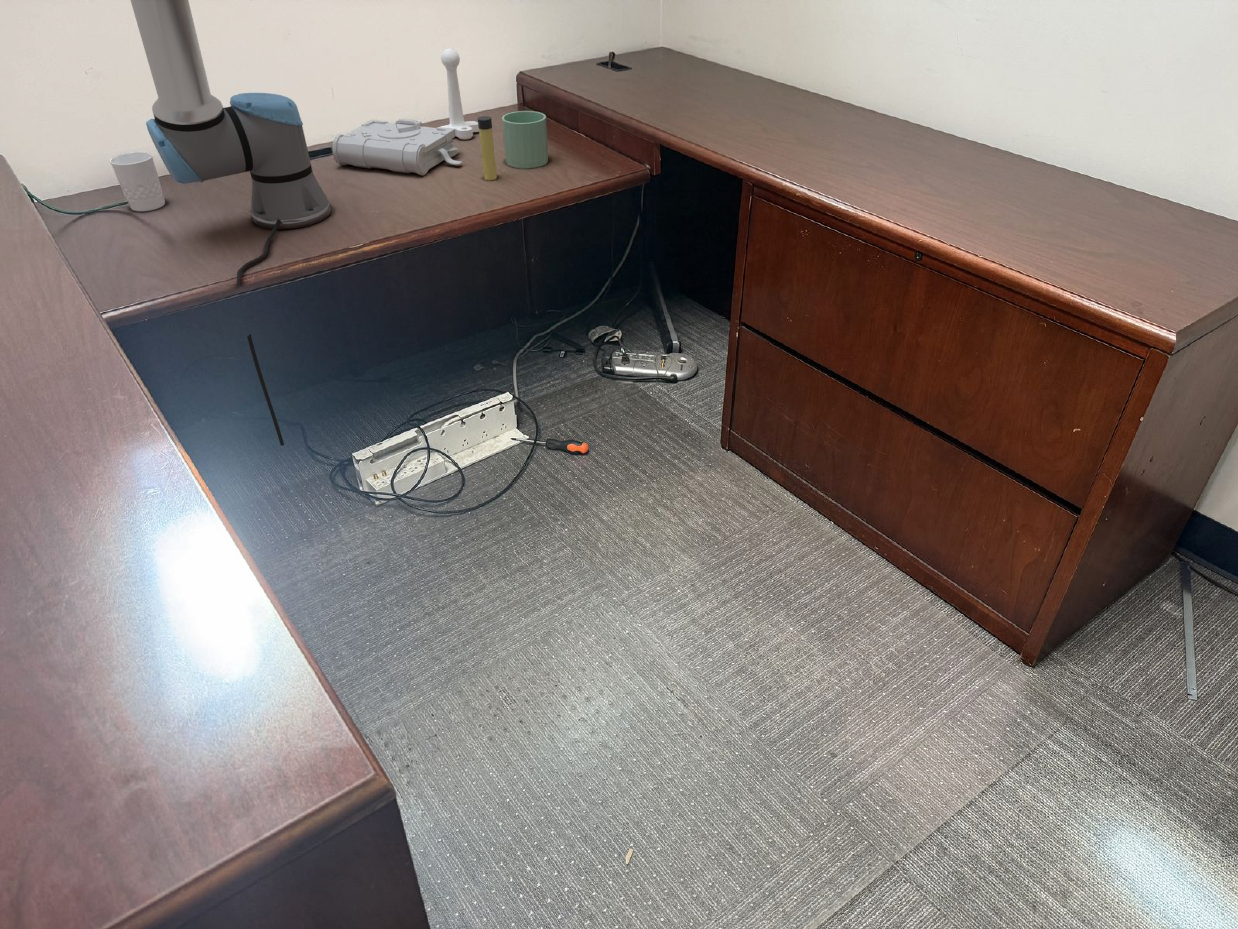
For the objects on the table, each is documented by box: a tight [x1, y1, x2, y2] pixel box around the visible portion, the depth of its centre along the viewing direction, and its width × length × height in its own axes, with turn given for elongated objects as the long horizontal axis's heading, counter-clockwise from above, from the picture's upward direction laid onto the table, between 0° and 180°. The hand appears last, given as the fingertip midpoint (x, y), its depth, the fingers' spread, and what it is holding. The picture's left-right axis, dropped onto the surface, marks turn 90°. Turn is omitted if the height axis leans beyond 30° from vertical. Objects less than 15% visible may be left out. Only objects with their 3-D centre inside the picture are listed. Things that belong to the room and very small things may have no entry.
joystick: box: [437, 48, 479, 140], centre depth 208 cm, size 11×8×20 cm
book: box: [331, 118, 463, 177], centre depth 197 cm, size 19×28×8 cm
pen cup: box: [501, 110, 549, 169], centre depth 196 cm, size 10×10×10 cm
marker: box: [477, 115, 498, 181], centre depth 186 cm, size 3×3×13 cm
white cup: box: [109, 151, 166, 212], centre depth 175 cm, size 8×8×10 cm
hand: (123, 41), depth 181 cm, fingers open, 13 cm apart
